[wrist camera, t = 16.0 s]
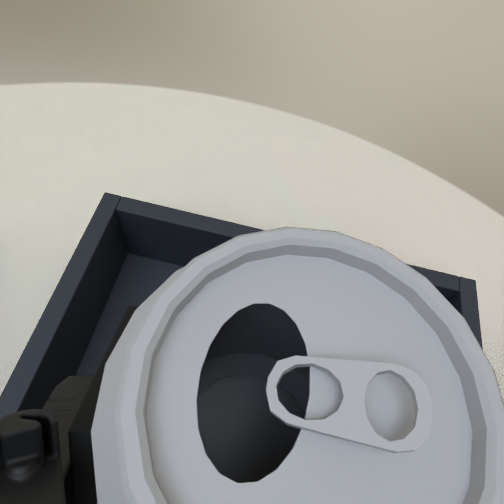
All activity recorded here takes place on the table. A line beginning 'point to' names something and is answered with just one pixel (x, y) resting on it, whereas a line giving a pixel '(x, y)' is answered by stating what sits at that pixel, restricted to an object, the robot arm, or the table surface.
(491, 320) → the table surface
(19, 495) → the robot arm
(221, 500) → the can
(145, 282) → the tray
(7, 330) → the table surface
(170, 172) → the table surface
